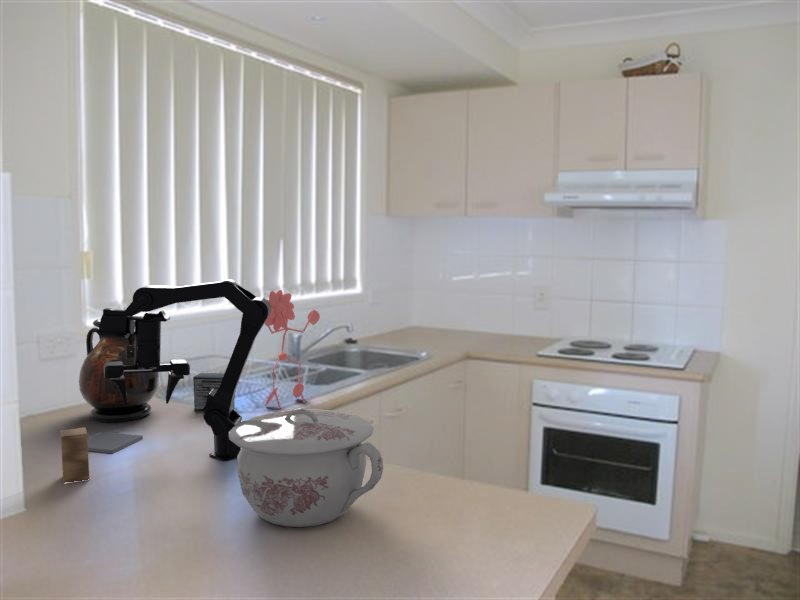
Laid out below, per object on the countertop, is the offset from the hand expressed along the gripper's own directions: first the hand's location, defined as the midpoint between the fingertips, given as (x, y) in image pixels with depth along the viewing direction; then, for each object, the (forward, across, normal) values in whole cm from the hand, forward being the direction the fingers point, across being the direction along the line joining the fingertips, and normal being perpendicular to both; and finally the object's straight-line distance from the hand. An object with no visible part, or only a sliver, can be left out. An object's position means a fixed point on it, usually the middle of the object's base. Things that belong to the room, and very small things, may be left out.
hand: (146, 404), depth 167 cm
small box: (+13, -23, -37) cm, 45 cm away
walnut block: (+14, +15, +8) cm, 22 cm away
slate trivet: (+14, +8, -14) cm, 21 cm away
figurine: (+12, -43, -36) cm, 57 cm away
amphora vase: (+14, +3, -41) cm, 43 cm away
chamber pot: (+11, -24, +47) cm, 54 cm away
